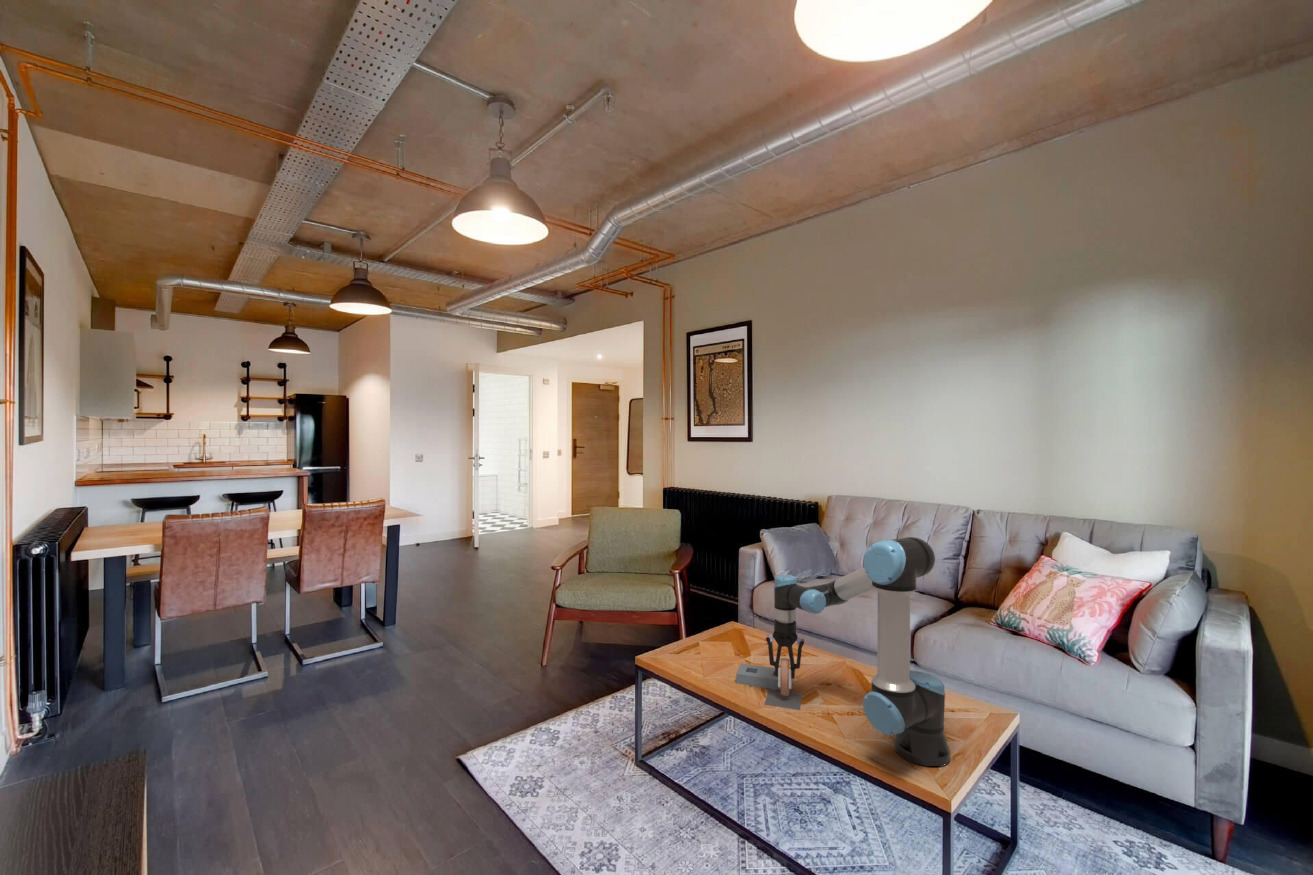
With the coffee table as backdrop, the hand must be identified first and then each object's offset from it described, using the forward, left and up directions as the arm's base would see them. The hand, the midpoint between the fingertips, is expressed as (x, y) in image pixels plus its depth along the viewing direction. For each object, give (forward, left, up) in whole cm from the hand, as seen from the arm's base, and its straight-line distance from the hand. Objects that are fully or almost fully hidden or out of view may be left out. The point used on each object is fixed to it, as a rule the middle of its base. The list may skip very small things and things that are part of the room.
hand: (784, 686), depth 198 cm
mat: (0, 0, -5) cm, 5 cm away
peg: (0, 0, -3) cm, 3 cm away
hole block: (+12, +8, -5) cm, 16 cm away
